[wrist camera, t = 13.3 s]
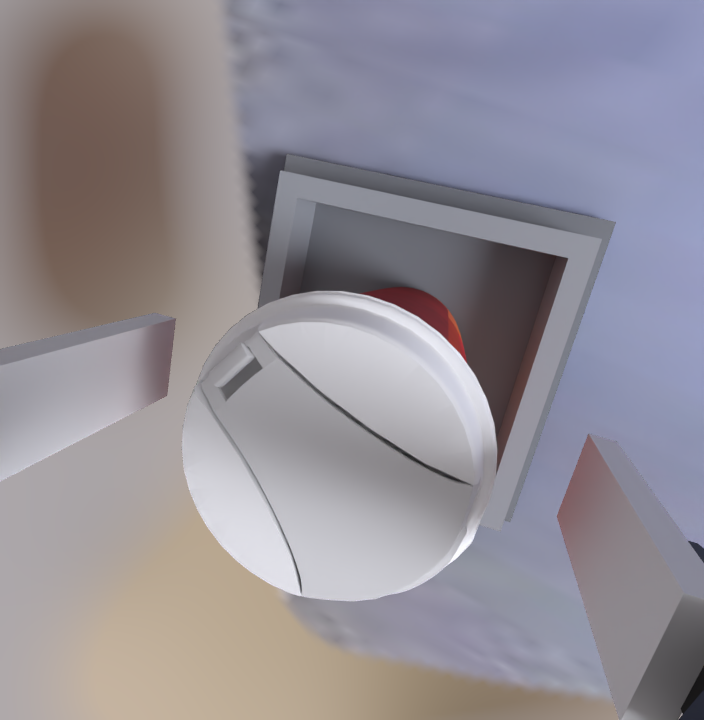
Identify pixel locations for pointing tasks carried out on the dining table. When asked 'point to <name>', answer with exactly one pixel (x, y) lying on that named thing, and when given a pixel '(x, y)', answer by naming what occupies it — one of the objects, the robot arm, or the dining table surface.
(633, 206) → the dining table surface
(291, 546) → the coffee cup
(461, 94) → the dining table surface
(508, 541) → the dining table surface
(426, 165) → the dining table surface
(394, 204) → the tray
